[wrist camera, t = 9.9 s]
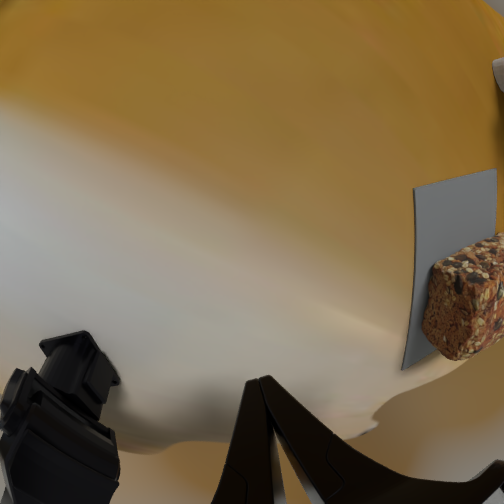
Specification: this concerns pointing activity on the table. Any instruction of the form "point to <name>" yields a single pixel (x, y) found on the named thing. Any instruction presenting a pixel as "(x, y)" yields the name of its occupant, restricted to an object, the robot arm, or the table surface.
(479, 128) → the table surface
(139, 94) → the table surface
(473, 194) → the serving mat
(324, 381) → the table surface
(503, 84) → the house plant
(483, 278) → the bread
